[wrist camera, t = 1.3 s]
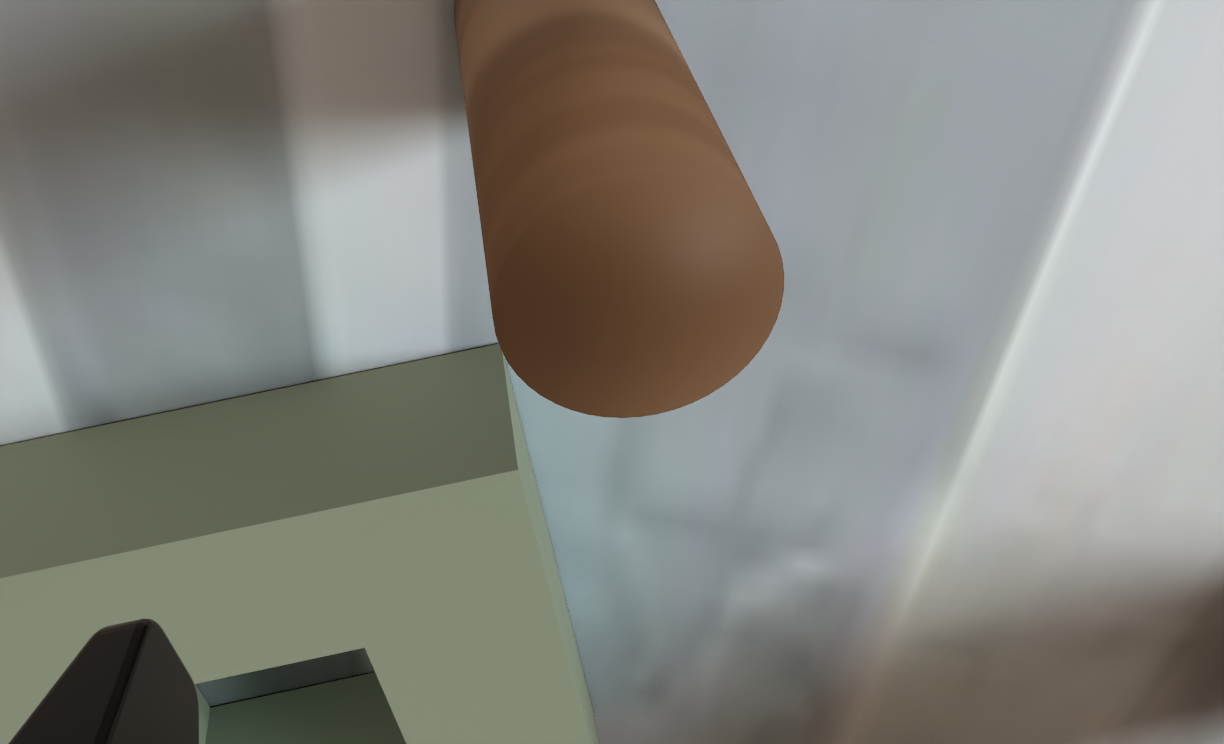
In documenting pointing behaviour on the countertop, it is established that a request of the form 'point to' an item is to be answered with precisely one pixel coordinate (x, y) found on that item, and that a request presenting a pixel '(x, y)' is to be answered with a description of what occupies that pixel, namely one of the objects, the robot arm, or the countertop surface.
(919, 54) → the countertop surface
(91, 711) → the robot arm
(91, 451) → the hole block
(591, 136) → the long pin
